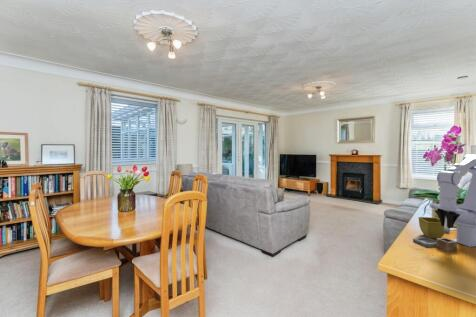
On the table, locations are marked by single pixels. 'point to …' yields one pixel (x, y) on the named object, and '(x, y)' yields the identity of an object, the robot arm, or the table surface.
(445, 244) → the walnut block
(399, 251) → the table surface
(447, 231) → the cylinder
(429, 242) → the tray
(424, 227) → the flower pot
